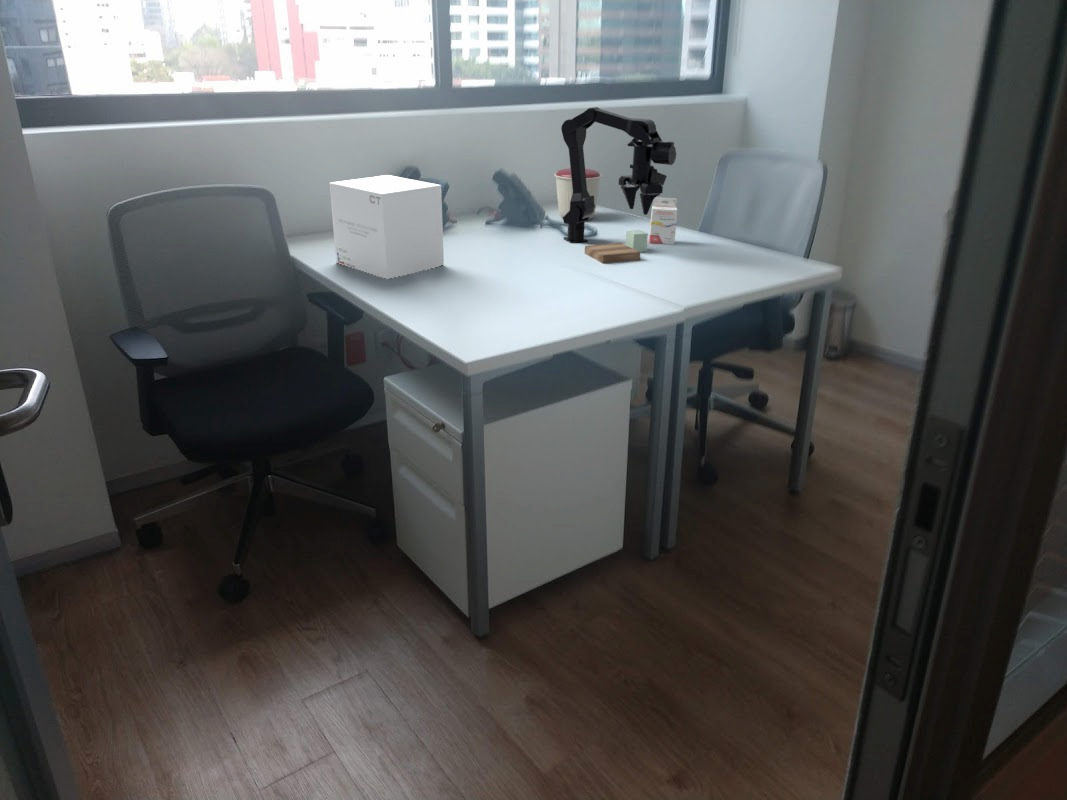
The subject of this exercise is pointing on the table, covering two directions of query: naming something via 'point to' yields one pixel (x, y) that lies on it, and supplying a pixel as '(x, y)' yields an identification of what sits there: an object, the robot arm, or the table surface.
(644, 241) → the sage block
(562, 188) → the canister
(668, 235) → the ink cartridge box
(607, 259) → the walnut base
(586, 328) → the table surface
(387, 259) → the cube
